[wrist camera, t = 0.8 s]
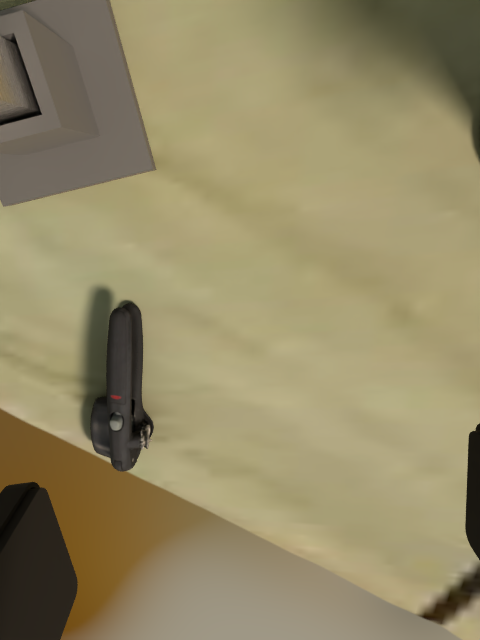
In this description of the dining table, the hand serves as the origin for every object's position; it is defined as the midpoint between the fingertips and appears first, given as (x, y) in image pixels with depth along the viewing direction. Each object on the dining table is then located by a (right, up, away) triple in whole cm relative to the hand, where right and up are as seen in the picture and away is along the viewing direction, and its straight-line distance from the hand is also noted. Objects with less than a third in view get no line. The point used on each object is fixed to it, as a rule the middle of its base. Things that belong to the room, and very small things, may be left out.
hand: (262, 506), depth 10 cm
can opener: (-12, -2, +37) cm, 39 cm away
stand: (-16, +23, +28) cm, 40 cm away
